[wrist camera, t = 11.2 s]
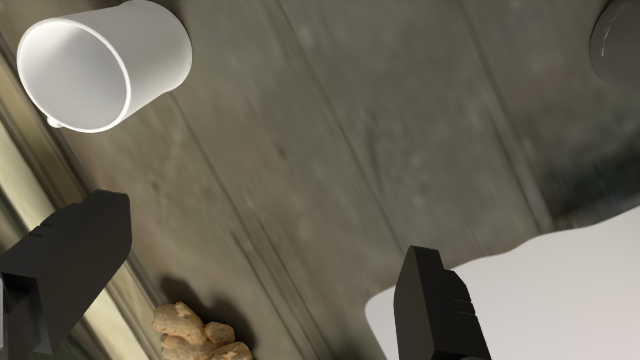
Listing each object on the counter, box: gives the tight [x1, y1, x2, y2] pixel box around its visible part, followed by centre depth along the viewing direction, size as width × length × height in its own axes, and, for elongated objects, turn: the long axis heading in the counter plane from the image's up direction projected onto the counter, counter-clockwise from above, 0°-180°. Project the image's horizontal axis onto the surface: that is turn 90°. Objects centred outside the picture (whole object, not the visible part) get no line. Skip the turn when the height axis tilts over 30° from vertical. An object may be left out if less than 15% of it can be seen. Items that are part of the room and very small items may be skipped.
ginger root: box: [152, 302, 253, 360], centre depth 55 cm, size 16×16×8 cm
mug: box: [17, 0, 192, 132], centre depth 35 cm, size 12×8×12 cm
